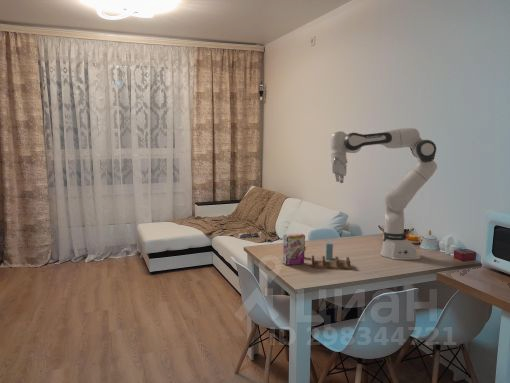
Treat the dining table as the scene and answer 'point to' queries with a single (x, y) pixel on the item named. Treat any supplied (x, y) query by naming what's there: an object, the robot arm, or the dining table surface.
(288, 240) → the candy bar box
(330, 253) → the teal rectangular block
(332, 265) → the rack
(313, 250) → the dining table surface
